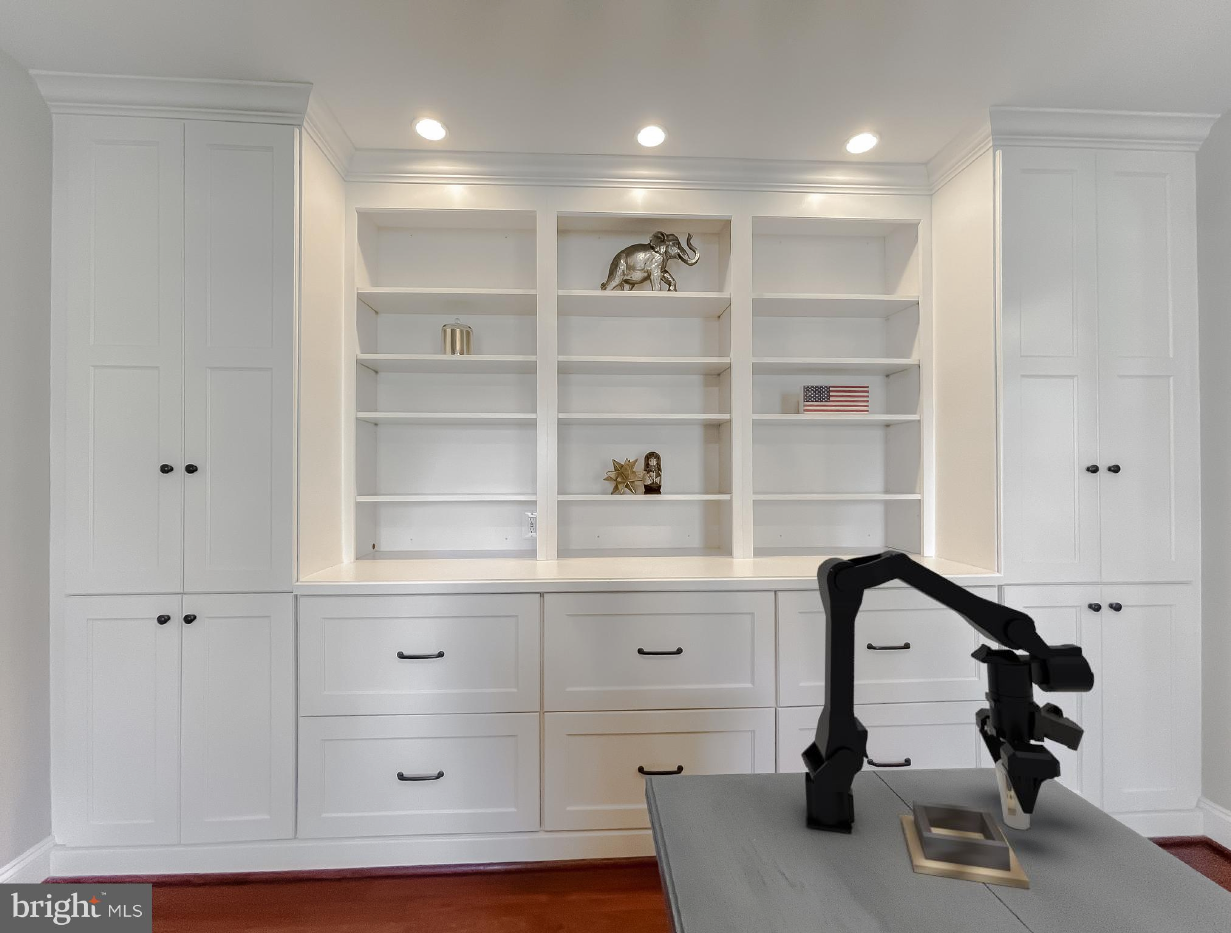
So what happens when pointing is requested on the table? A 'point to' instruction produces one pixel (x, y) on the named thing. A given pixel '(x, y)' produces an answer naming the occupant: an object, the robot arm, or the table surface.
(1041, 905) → the table surface
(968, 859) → the dock
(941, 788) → the table surface
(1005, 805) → the milkshake
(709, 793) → the table surface
